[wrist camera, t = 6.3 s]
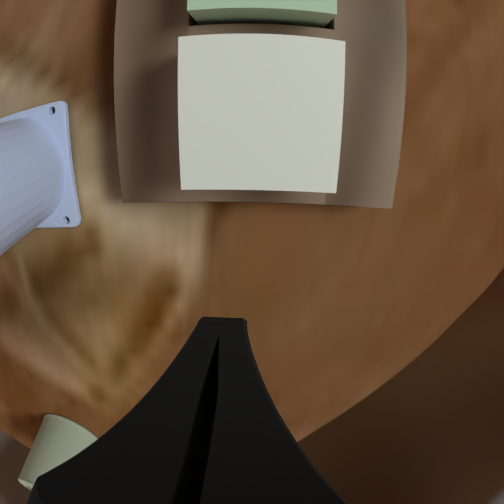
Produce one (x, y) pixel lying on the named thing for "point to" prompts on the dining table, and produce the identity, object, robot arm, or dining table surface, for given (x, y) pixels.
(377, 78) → the brown tray
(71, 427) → the pale green cup
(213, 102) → the cream button
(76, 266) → the dining table surface
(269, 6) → the sage button
